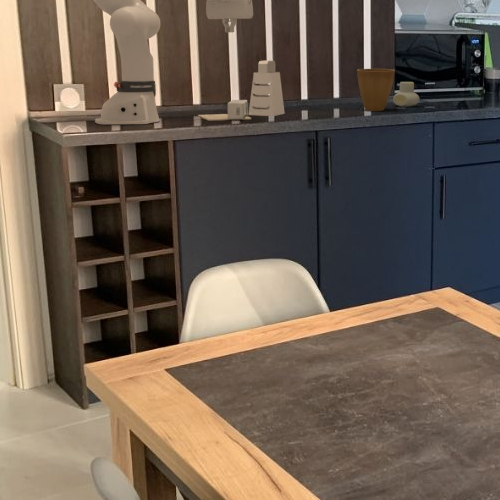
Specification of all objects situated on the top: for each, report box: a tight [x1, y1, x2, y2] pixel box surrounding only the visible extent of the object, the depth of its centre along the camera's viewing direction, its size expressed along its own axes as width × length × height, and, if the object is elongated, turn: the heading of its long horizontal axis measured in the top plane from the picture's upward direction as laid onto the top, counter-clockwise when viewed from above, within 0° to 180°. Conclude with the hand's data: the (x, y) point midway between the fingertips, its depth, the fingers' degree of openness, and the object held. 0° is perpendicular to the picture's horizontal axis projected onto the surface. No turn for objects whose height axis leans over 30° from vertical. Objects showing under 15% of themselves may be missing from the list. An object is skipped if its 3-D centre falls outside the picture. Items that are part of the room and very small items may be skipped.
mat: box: [197, 113, 252, 122], centre depth 306 cm, size 16×16×1 cm
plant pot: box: [356, 68, 396, 112], centre depth 332 cm, size 15×15×16 cm
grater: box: [247, 60, 286, 117], centre depth 317 cm, size 10×10×20 cm
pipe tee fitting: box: [392, 81, 420, 108], centre depth 349 cm, size 11×8×10 cm
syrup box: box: [227, 99, 249, 120], centre depth 303 cm, size 6×6×14 cm
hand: (229, 32), depth 295 cm, fingers closed
